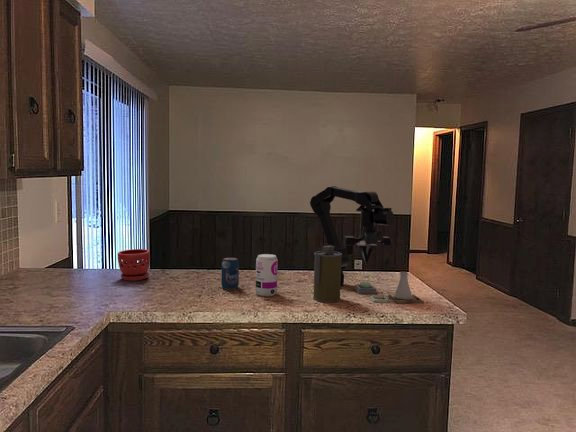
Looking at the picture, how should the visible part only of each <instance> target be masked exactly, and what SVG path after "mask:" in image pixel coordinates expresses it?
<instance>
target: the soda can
mask: <svg viewBox="0 0 576 432" xmlns="http://www.w3.org/2000/svg"><path fill="white" fill-rule="evenodd" d="M220 279H221V284H220V285H221V287H222V288H223V290H231V291H232V290H236V289H238V288H239V285H240V262H239V260H238V258H237V257H232V256H230V257H227V256H226V257H223V258H222V261H221V278H220Z"/></svg>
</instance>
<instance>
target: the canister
mask: <svg viewBox="0 0 576 432" xmlns="http://www.w3.org/2000/svg"><path fill="white" fill-rule="evenodd" d="M334 248H335V246H330V245H329V246H328V245H323V246H322V248H321V250H319V251H315V252H314V253H313V255H314V264H313V265H314V267H313V270H314V271H313V272H314V273H313V296H312V299H313V300H314V301H316V302H319V303H325V304H326V303H327V304H328V303H330V304H331V303H332V304H333V303H337V302H340V301H341V257H342V253H340V252H334Z"/></svg>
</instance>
